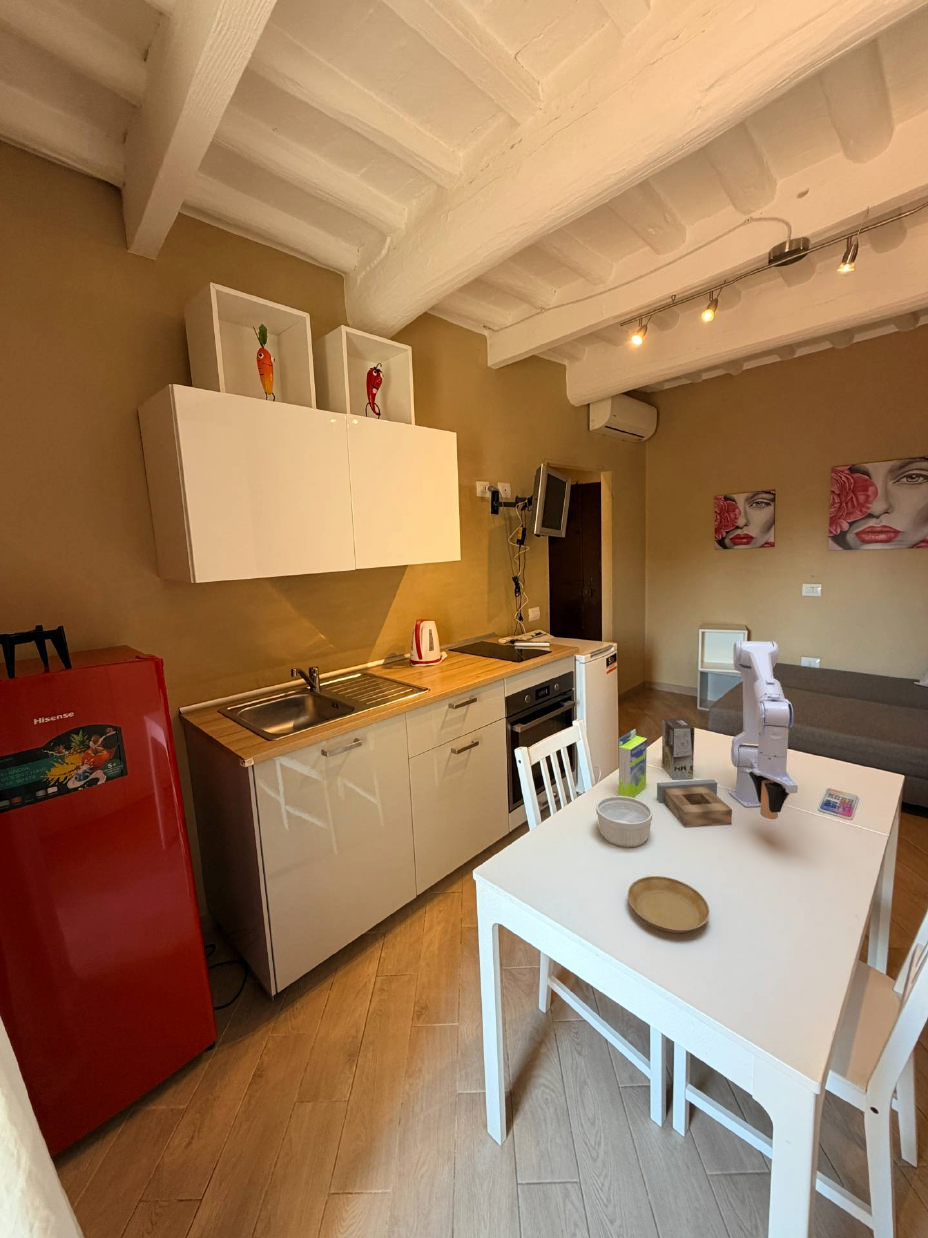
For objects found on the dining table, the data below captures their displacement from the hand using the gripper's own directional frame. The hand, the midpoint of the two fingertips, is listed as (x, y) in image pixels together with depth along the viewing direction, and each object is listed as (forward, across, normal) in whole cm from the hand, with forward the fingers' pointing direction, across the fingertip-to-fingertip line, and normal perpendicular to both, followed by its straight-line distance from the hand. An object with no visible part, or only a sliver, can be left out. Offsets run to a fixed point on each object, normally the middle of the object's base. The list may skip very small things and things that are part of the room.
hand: (769, 806), depth 115 cm
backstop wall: (+9, -21, -9) cm, 25 cm away
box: (+9, -27, -22) cm, 36 cm away
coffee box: (+9, -37, -4) cm, 38 cm away
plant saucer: (+10, +19, -33) cm, 39 cm away
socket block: (+9, -14, -10) cm, 19 cm away
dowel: (+2, 0, 0) cm, 2 cm away
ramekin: (+9, -7, -32) cm, 34 cm away
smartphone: (+10, -14, +29) cm, 34 cm away
